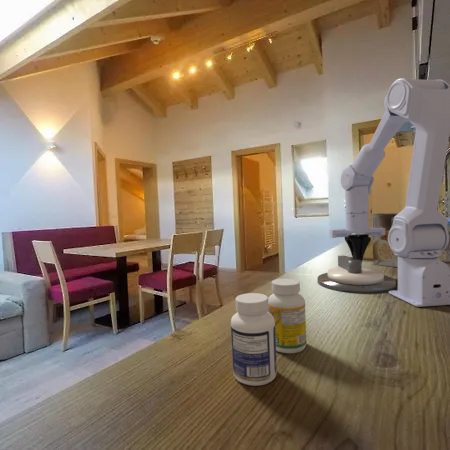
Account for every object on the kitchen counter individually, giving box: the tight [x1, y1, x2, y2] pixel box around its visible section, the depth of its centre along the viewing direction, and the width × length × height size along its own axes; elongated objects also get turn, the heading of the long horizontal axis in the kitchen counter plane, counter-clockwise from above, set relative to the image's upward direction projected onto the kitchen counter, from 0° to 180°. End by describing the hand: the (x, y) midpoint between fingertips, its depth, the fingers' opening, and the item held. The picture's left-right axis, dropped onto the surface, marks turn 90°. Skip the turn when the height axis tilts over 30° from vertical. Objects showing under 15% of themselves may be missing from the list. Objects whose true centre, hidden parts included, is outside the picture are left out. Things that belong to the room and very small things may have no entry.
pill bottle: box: [230, 292, 278, 387], centre depth 38 cm, size 5×5×10 cm
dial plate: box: [317, 272, 397, 294], centre depth 78 cm, size 18×18×1 cm
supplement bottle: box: [267, 278, 307, 354], centre depth 46 cm, size 5×5×10 cm
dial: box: [327, 254, 385, 285], centre depth 79 cm, size 14×13×5 cm
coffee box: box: [371, 212, 399, 268], centre depth 97 cm, size 9×6×16 cm
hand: (357, 262), depth 85 cm, fingers closed
